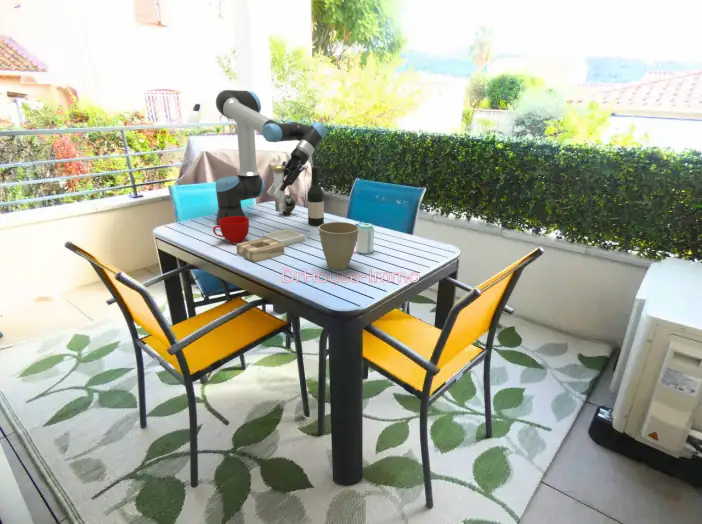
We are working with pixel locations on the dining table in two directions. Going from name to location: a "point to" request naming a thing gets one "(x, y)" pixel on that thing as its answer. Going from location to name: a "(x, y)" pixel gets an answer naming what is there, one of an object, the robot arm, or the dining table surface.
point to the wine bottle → (315, 201)
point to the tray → (285, 237)
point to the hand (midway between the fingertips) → (272, 195)
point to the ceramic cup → (233, 228)
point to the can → (365, 238)
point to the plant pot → (338, 243)
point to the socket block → (260, 249)
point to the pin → (278, 179)
